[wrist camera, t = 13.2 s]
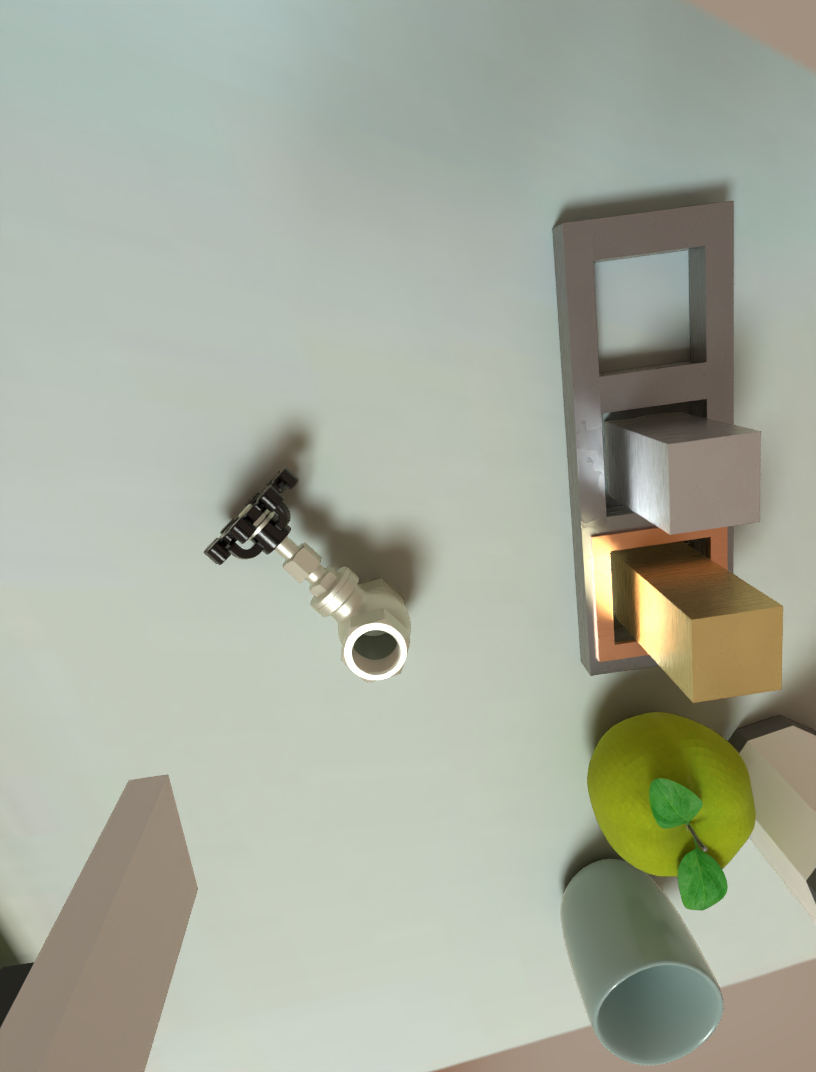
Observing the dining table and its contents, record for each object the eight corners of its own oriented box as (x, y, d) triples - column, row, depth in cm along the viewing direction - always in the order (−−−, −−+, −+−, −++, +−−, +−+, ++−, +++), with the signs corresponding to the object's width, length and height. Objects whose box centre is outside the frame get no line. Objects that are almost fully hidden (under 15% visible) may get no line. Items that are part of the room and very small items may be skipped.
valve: (434, 592, 44) (291, 456, 41) (447, 635, 37) (278, 479, 35) (360, 662, 45) (215, 535, 42) (360, 716, 38) (189, 570, 36)
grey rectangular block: (603, 421, 41) (667, 444, 33) (677, 411, 42) (760, 431, 33) (607, 494, 43) (670, 534, 34) (679, 484, 43) (759, 521, 34)
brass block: (611, 550, 44) (691, 619, 33) (681, 540, 44) (782, 606, 33) (614, 616, 45) (693, 703, 34) (682, 606, 45) (781, 689, 34)
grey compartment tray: (552, 228, 38) (564, 222, 36) (715, 207, 38) (736, 199, 36) (581, 661, 46) (592, 677, 43) (717, 641, 46) (735, 656, 44)
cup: (677, 882, 51) (751, 1009, 41) (597, 947, 52) (651, 1086, 43) (607, 821, 49) (667, 939, 40) (526, 891, 50) (565, 1022, 41)
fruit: (587, 821, 49) (642, 940, 39) (557, 707, 46) (608, 805, 37) (714, 784, 49) (801, 894, 39) (691, 668, 46) (778, 755, 37)
